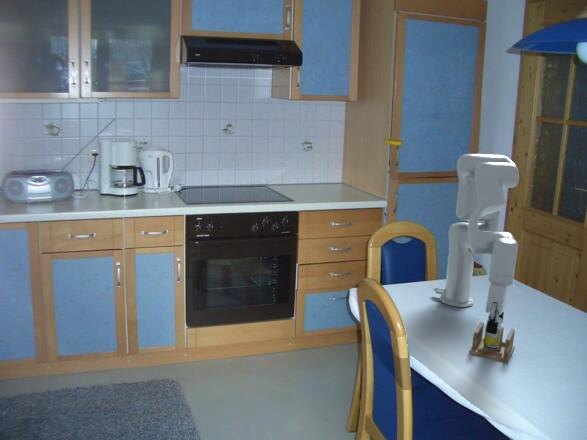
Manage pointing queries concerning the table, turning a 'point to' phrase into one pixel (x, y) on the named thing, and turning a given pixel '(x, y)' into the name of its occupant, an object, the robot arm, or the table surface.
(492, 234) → the robot arm
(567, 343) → the table surface
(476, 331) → the holder
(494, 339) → the supplement bottle
